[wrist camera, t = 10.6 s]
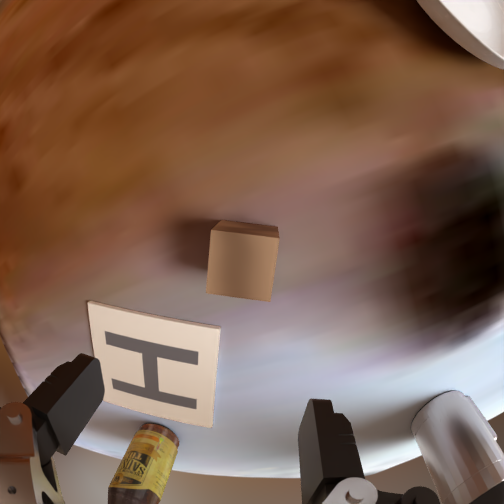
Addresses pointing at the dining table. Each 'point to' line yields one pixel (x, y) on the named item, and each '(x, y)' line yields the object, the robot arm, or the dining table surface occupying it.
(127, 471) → the sauce bottle
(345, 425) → the robot arm
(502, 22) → the serving bowl
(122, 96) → the dining table surface
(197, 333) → the letter card
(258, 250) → the walnut block
